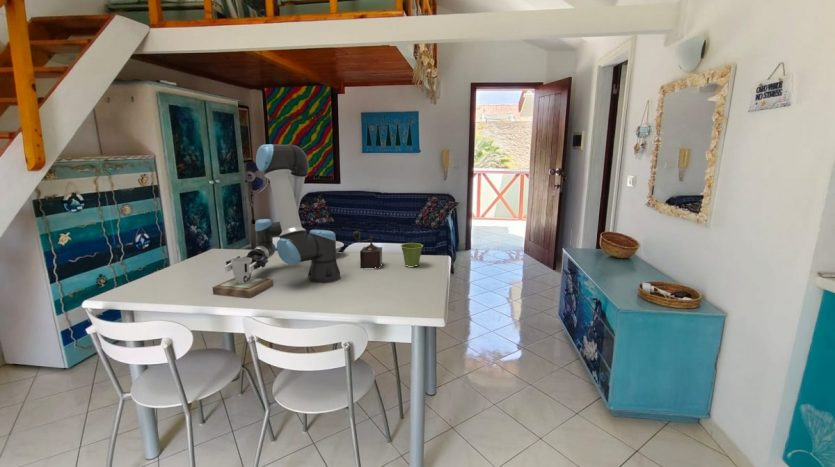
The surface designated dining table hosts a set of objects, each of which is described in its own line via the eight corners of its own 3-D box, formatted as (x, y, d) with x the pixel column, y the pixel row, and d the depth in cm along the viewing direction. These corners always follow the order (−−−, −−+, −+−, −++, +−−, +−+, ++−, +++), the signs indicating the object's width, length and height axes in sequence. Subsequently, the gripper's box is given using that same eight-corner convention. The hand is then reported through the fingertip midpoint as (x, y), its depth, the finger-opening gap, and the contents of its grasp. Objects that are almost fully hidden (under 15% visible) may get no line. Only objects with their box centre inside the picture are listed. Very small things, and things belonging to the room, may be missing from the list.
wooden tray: (273, 285, 177) (272, 278, 176) (250, 298, 162) (249, 290, 161) (238, 282, 181) (237, 275, 180) (213, 294, 166) (212, 286, 165)
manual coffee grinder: (383, 263, 214) (382, 230, 211) (379, 269, 203) (379, 235, 200) (354, 262, 215) (354, 230, 212) (350, 268, 204) (349, 234, 201)
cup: (245, 285, 166) (244, 263, 164) (228, 284, 168) (226, 261, 166) (257, 280, 174) (255, 258, 172) (240, 278, 176) (239, 256, 174)
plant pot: (398, 263, 214) (398, 243, 211) (419, 262, 217) (419, 242, 215) (403, 269, 203) (403, 248, 200) (425, 268, 206) (425, 247, 203)
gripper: (281, 263, 188) (264, 278, 166) (235, 263, 187) (212, 278, 165) (280, 248, 186) (263, 260, 164) (233, 248, 186) (210, 260, 164)
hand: (237, 269), depth 165 cm, fingers open, 9 cm apart
